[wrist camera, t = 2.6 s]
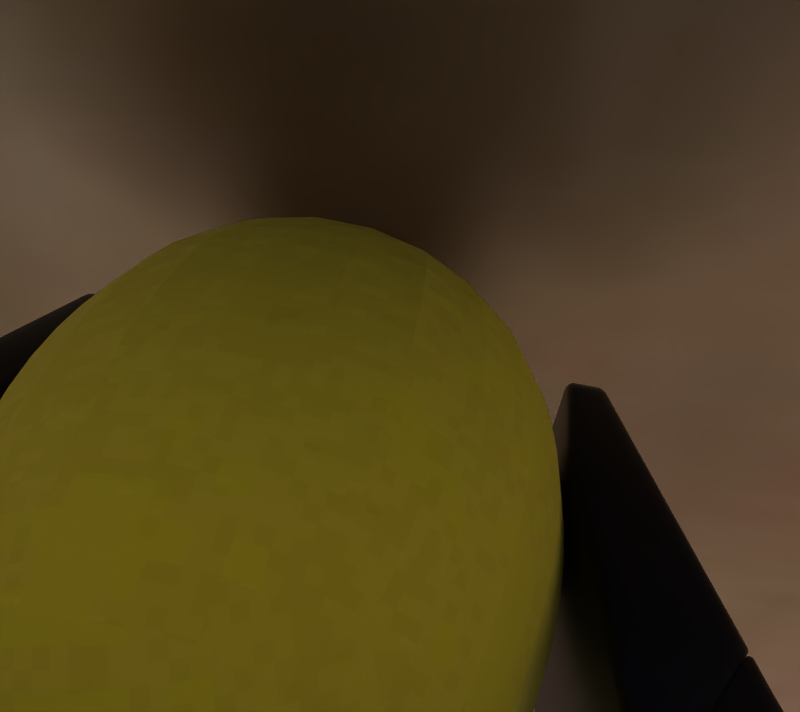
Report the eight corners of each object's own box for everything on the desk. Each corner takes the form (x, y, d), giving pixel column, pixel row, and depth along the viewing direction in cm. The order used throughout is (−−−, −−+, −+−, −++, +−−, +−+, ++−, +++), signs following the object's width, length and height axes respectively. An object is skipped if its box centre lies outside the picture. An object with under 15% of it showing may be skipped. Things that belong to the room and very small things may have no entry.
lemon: (443, 466, 12) (311, 1140, 7) (141, 315, 11) (-323, 960, 6) (669, 244, 9) (802, 1328, 3) (251, -9, 8) (-769, 903, 2)
